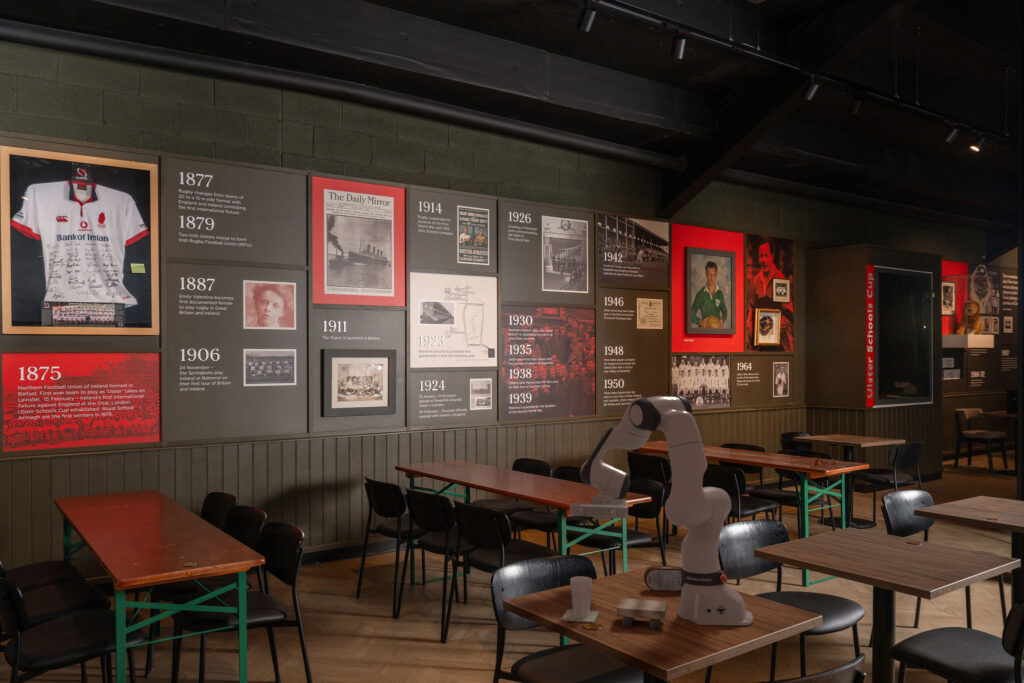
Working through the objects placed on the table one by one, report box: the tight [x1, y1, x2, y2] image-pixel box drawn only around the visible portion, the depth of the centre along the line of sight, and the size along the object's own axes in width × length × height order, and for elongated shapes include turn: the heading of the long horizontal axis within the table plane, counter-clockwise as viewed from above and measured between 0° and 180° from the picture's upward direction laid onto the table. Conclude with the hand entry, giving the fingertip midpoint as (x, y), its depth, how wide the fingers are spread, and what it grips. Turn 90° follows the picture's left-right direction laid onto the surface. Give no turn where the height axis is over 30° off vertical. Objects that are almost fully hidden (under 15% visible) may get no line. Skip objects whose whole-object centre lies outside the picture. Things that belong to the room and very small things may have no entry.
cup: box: [569, 575, 593, 618], centre depth 232 cm, size 7×7×11 cm
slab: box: [616, 597, 668, 631], centre depth 226 cm, size 14×12×5 cm
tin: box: [643, 565, 682, 592], centre depth 259 cm, size 15×3×8 cm, turn 84°
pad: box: [561, 608, 600, 624], centre depth 231 cm, size 10×10×1 cm
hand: (595, 514), depth 253 cm, fingers open, 8 cm apart
